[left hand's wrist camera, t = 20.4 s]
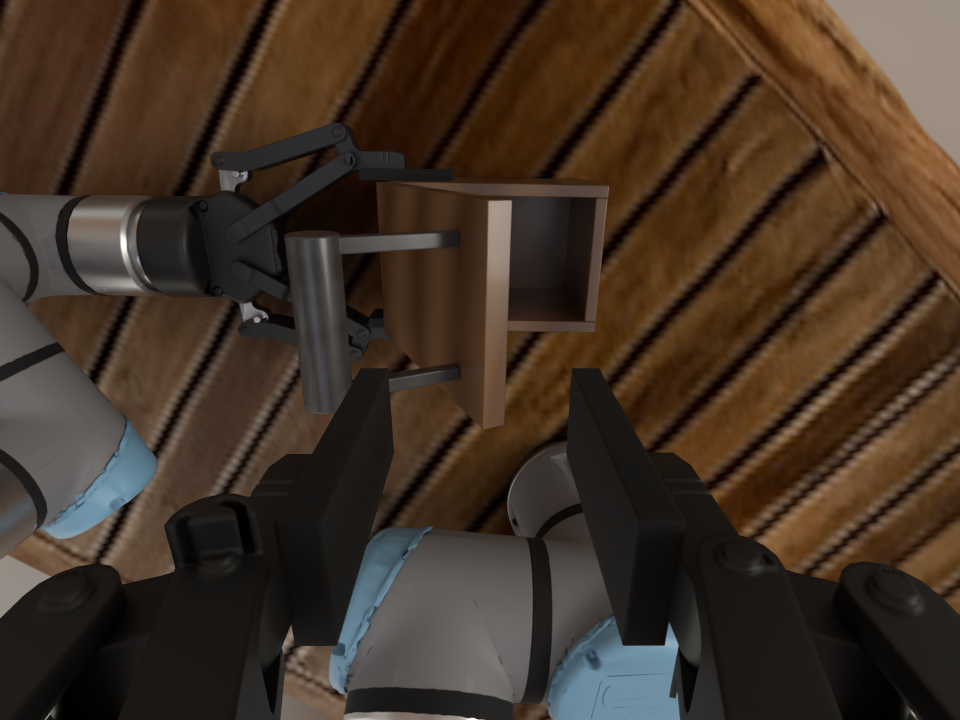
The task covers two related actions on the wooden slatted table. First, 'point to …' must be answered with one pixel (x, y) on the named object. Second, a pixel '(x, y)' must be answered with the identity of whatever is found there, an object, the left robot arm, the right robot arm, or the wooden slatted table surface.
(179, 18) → the wooden slatted table surface
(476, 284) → the lid
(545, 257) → the chest
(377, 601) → the left robot arm
